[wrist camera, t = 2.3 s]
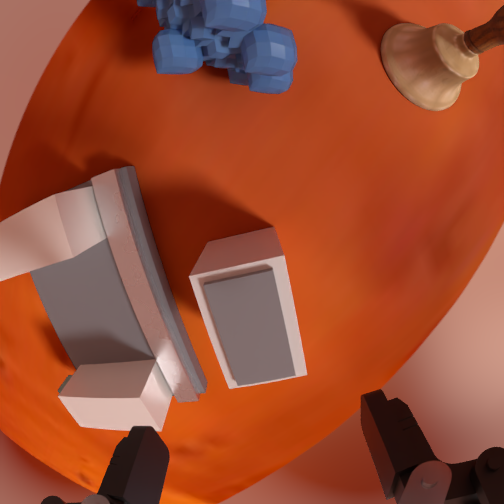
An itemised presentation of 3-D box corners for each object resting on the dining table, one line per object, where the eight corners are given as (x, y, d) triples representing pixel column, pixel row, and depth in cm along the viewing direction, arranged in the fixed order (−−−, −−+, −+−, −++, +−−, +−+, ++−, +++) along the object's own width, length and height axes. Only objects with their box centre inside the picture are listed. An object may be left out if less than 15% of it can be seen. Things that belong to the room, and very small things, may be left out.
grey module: (207, 241, 22) (187, 279, 15) (274, 226, 21) (284, 257, 14) (234, 332, 24) (228, 393, 17) (293, 320, 24) (308, 378, 17)
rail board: (22, 213, 21) (-25, 230, 15) (134, 165, 20) (90, 168, 14) (98, 388, 26) (76, 429, 20) (207, 382, 26) (197, 433, 19)
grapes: (130, 58, 17) (41, -6, 6) (190, 0, 16) (148, -96, 4) (241, 144, 20) (226, 116, 8) (304, 80, 18) (359, -1, 7)
